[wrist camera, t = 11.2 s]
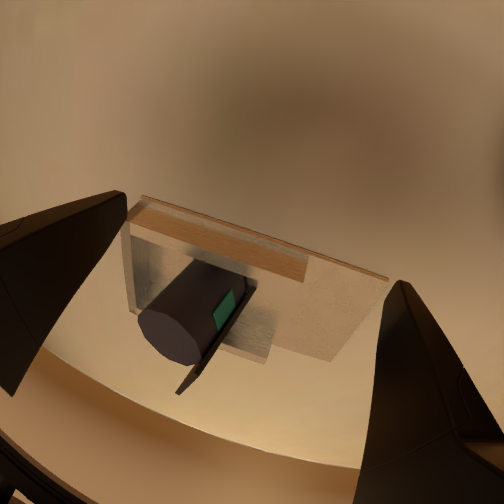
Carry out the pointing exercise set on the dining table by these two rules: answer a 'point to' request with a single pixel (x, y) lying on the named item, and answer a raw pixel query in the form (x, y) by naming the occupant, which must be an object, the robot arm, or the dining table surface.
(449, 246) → the dining table surface
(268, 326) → the beige shallow tray
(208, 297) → the speaker
